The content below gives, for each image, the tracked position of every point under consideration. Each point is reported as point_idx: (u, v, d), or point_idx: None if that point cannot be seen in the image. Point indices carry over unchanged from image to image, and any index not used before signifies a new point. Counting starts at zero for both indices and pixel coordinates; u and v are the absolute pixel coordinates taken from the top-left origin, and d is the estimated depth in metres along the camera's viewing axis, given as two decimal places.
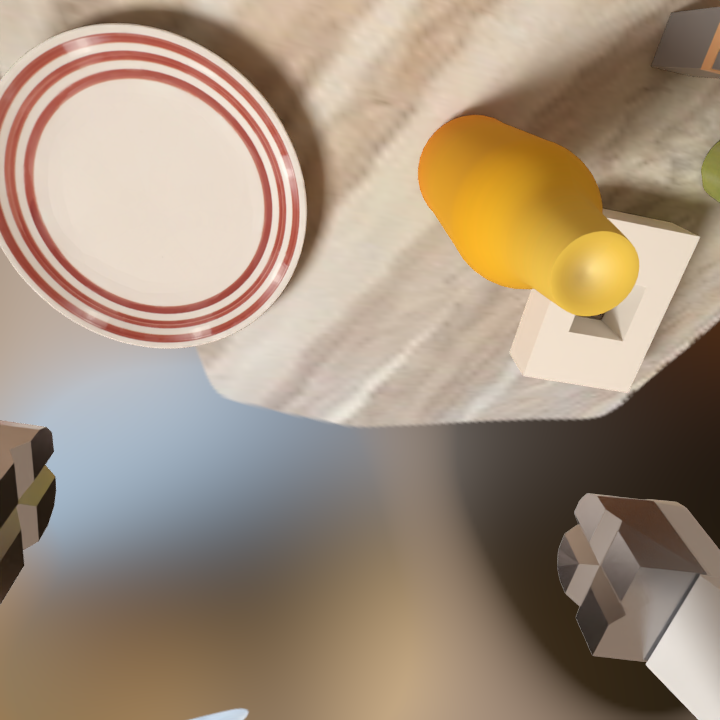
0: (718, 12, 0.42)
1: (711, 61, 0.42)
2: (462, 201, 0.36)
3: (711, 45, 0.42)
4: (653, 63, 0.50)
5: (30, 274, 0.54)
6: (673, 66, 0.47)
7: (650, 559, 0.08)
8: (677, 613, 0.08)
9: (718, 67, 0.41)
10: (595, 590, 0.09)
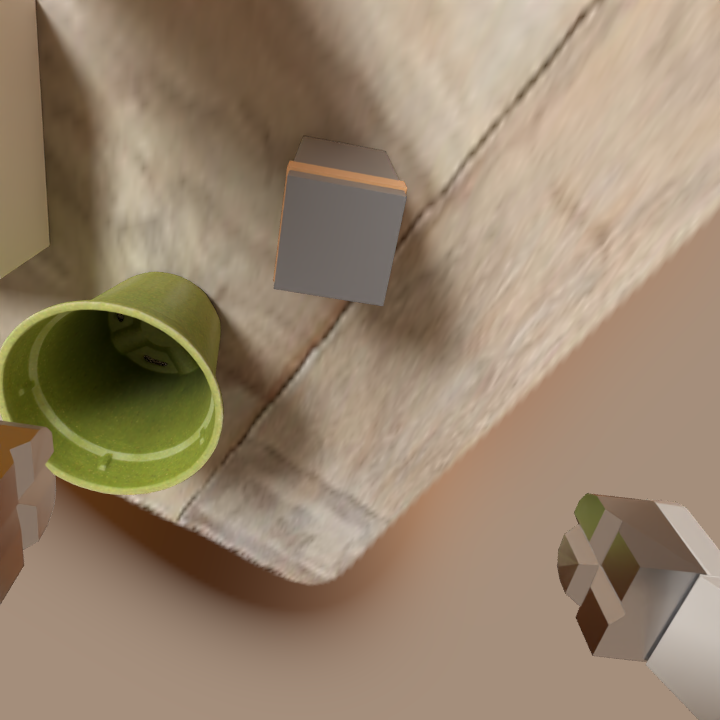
0: (389, 177, 0.23)
1: (303, 168, 0.21)
2: None
3: (334, 169, 0.21)
4: (308, 137, 0.28)
5: None
6: (300, 147, 0.25)
7: (650, 559, 0.08)
8: (676, 612, 0.08)
9: (290, 174, 0.20)
10: (595, 590, 0.09)
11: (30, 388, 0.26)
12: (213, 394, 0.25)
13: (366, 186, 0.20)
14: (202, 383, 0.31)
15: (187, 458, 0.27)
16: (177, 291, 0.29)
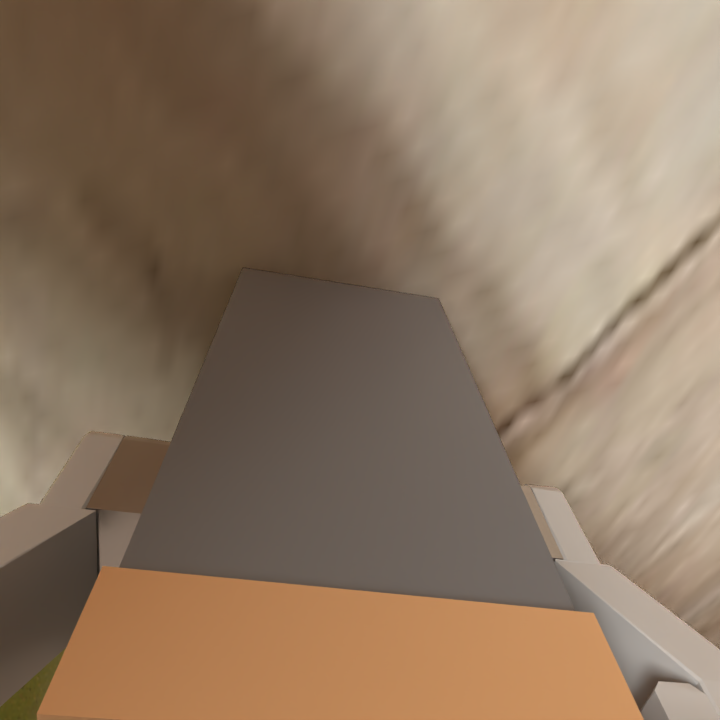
0: (513, 545, 0.06)
1: (139, 684, 0.04)
2: None
3: (302, 599, 0.05)
4: (253, 273, 0.12)
5: None
6: (213, 351, 0.09)
7: None
8: None
9: None
10: None
11: None
12: None
13: None
14: None
15: None
16: None
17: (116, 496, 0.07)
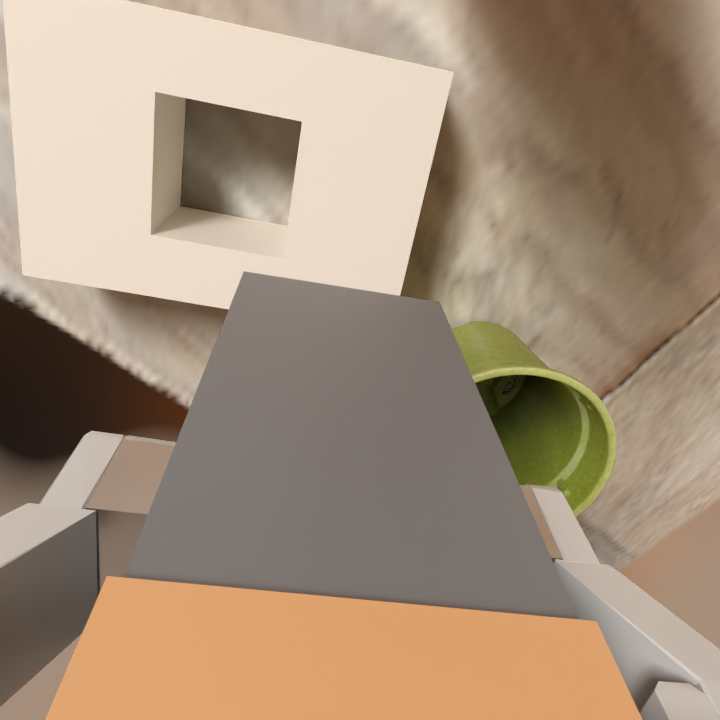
0: (516, 553, 0.06)
1: (144, 695, 0.04)
2: None
3: (305, 607, 0.05)
4: (254, 277, 0.12)
5: None
6: (215, 356, 0.09)
7: None
8: None
9: None
10: None
11: None
12: (610, 452, 0.26)
13: None
14: (520, 429, 0.32)
15: None
16: (522, 344, 0.30)
17: (116, 496, 0.07)
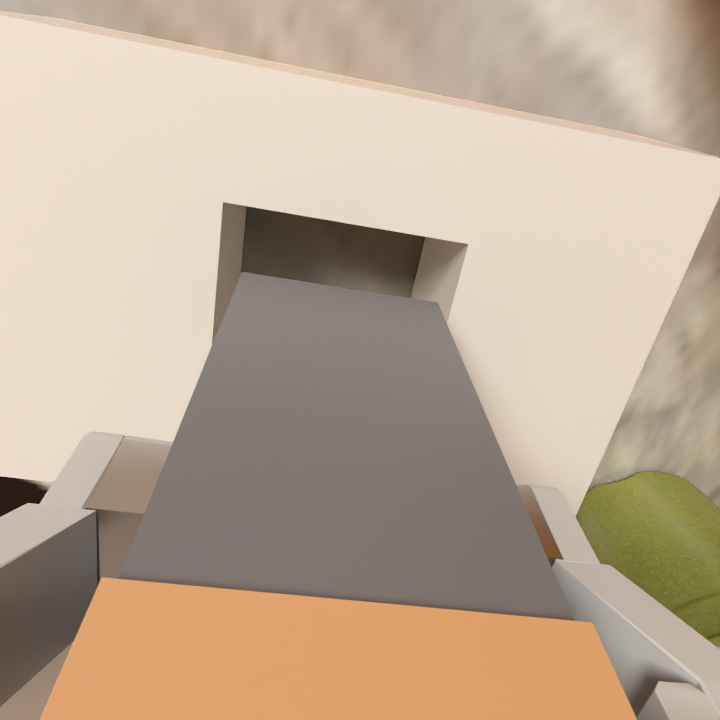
0: (513, 554, 0.06)
1: (138, 697, 0.04)
2: None
3: (300, 609, 0.05)
4: (252, 278, 0.12)
5: None
6: (212, 357, 0.09)
7: None
8: None
9: None
10: None
11: None
12: None
13: None
14: None
15: None
16: None
17: (116, 496, 0.07)
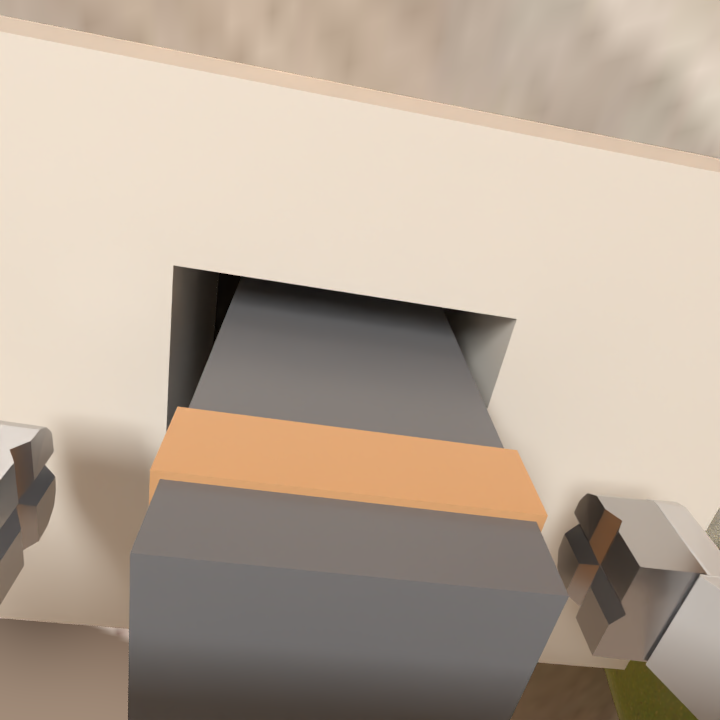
0: (465, 415, 0.08)
1: (210, 463, 0.06)
2: None
3: (312, 429, 0.07)
4: None
5: None
6: (239, 292, 0.11)
7: (650, 559, 0.08)
8: (677, 613, 0.08)
9: (148, 534, 0.05)
10: (595, 590, 0.09)
11: None
12: None
13: (421, 541, 0.06)
14: None
15: None
16: None
17: None
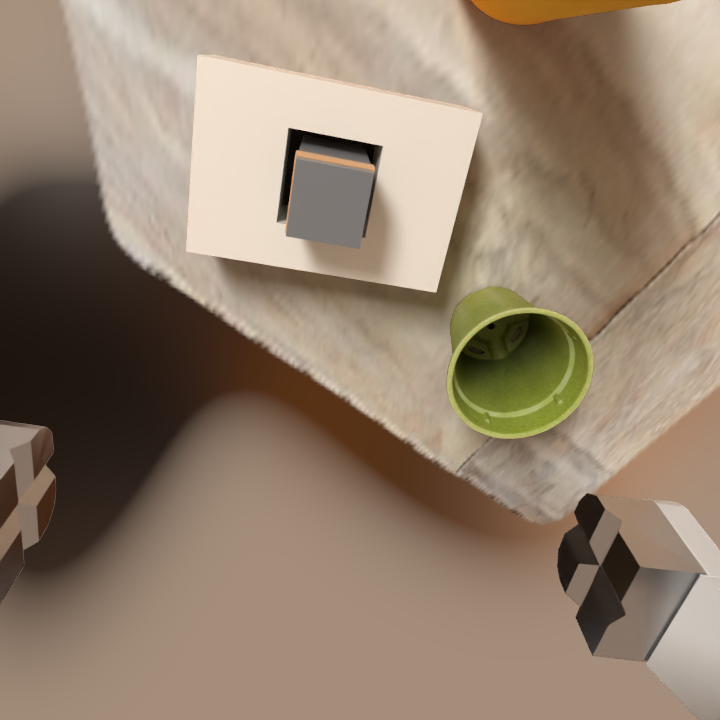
0: (364, 162, 0.33)
1: (306, 155, 0.31)
2: None
3: (326, 156, 0.32)
4: (307, 136, 0.38)
5: None
6: (302, 142, 0.35)
7: (650, 559, 0.08)
8: (676, 612, 0.08)
9: (298, 158, 0.30)
10: (595, 590, 0.09)
11: None
12: (589, 368, 0.38)
13: (347, 166, 0.31)
14: (524, 365, 0.44)
15: (548, 414, 0.40)
16: None
17: None
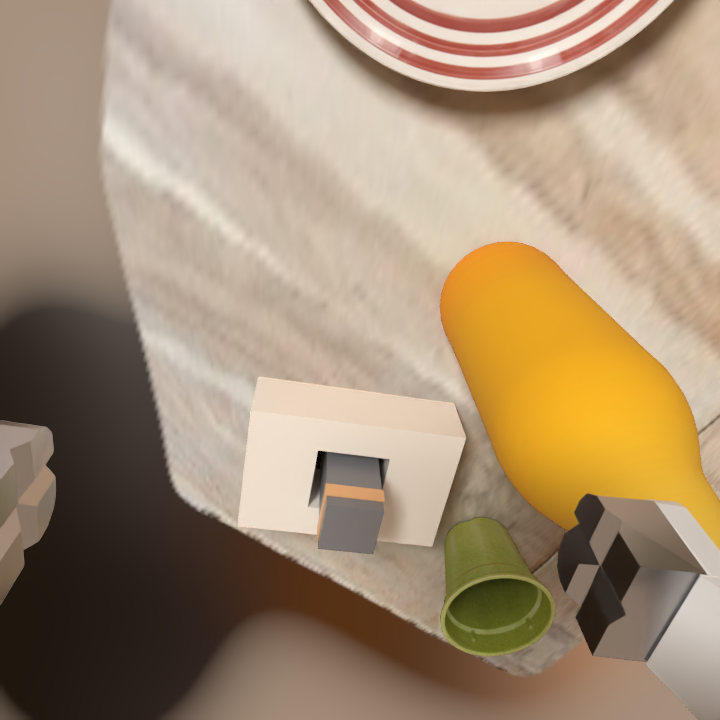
0: (376, 482, 0.43)
1: (333, 493, 0.41)
2: (639, 364, 0.26)
3: (348, 487, 0.42)
4: None
5: None
6: None
7: (650, 559, 0.08)
8: (676, 612, 0.08)
9: (327, 503, 0.41)
10: (595, 590, 0.09)
11: None
12: (551, 611, 0.48)
13: (364, 504, 0.41)
14: (504, 579, 0.55)
15: (521, 635, 0.51)
16: (504, 538, 0.52)
17: None
